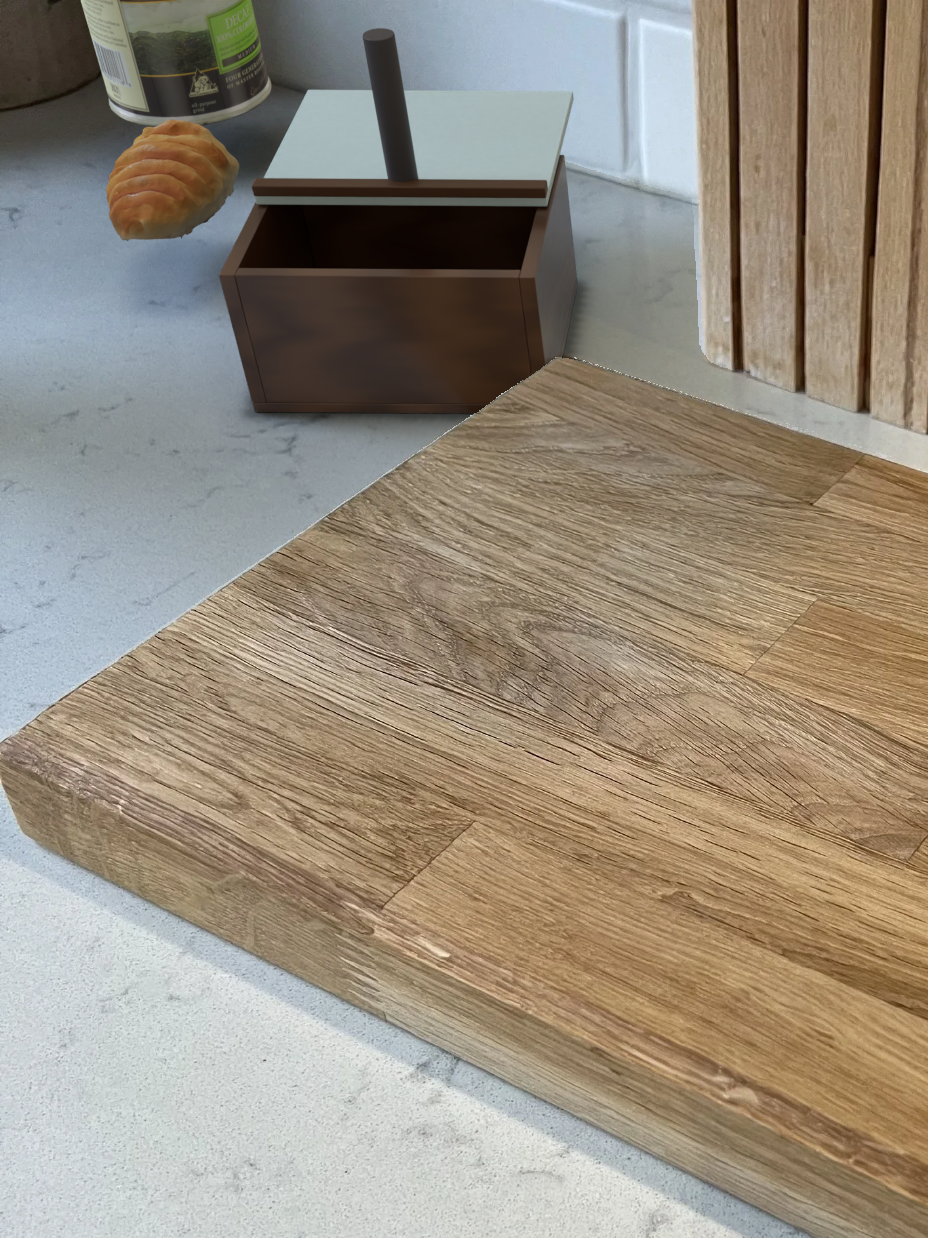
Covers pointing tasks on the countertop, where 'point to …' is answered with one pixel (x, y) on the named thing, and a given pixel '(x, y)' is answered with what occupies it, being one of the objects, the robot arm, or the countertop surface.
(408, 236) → the case
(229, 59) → the coffee can
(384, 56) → the glass door
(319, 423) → the countertop surface
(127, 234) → the pastry
